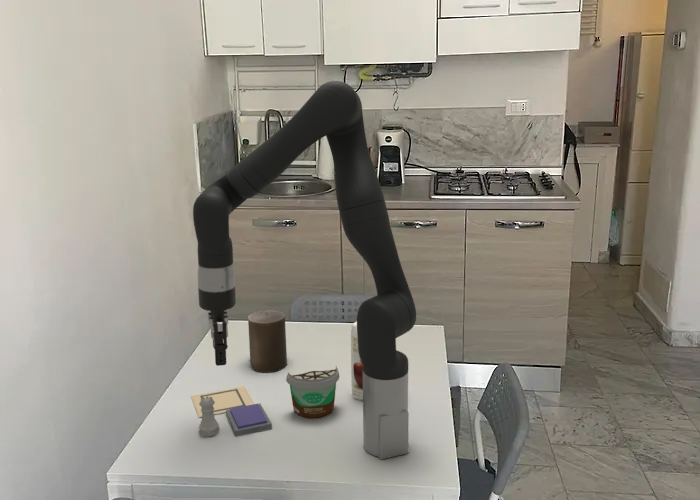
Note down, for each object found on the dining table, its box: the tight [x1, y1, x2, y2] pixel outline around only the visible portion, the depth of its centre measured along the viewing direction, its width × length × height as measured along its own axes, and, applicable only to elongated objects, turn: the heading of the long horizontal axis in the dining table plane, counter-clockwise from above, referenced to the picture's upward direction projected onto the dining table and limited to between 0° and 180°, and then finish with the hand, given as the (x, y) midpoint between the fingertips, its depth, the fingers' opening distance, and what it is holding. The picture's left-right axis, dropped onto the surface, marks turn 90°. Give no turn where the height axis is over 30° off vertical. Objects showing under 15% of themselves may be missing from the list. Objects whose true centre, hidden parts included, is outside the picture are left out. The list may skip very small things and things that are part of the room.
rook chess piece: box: [198, 396, 220, 438], centre depth 148 cm, size 4×4×8 cm
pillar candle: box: [247, 309, 288, 373], centre depth 179 cm, size 10×10×15 cm
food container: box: [285, 365, 340, 420], centre depth 154 cm, size 12×6×10 cm, turn 105°
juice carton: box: [350, 320, 363, 401], centre depth 161 cm, size 8×9×19 cm
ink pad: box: [225, 403, 273, 437], centre depth 153 cm, size 10×8×2 cm
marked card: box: [190, 385, 255, 419], centre depth 162 cm, size 11×13×1 cm
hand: (219, 355), depth 146 cm, fingers open, 8 cm apart
